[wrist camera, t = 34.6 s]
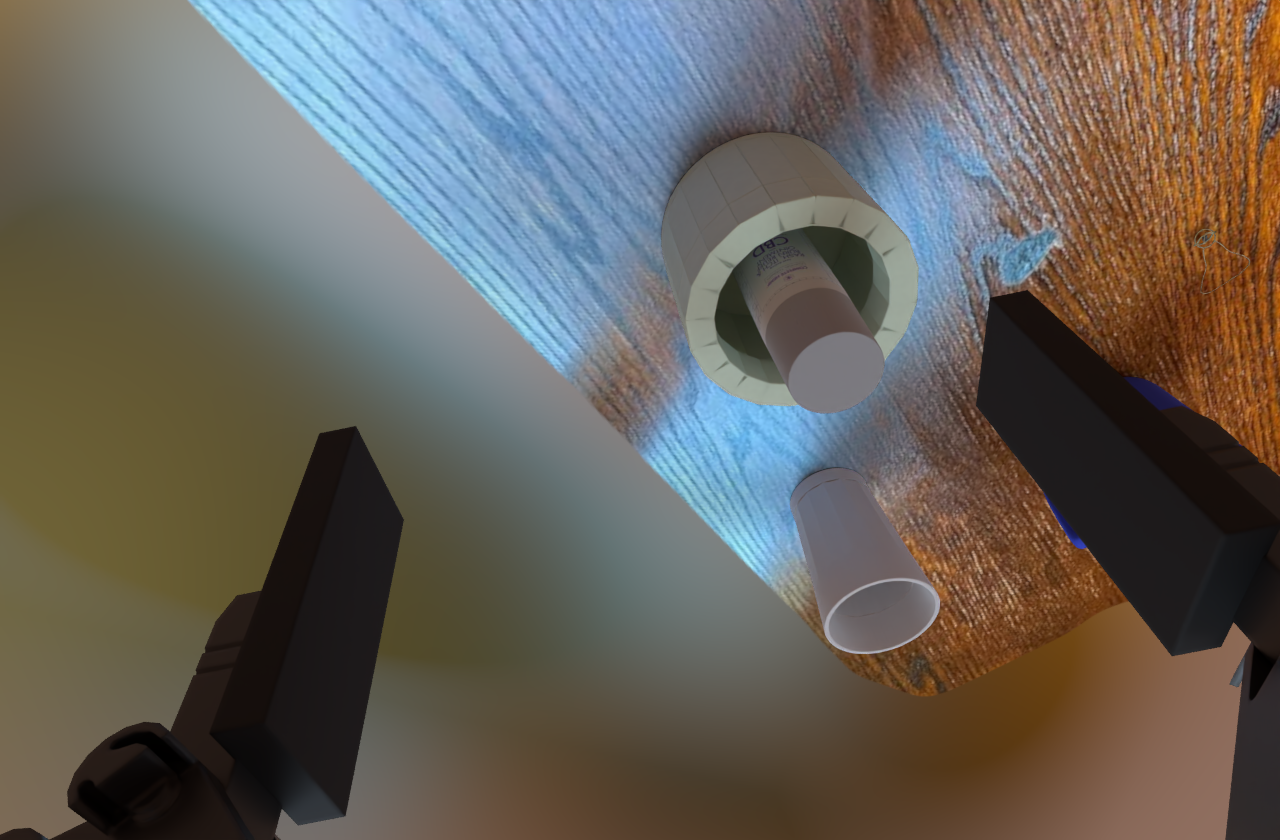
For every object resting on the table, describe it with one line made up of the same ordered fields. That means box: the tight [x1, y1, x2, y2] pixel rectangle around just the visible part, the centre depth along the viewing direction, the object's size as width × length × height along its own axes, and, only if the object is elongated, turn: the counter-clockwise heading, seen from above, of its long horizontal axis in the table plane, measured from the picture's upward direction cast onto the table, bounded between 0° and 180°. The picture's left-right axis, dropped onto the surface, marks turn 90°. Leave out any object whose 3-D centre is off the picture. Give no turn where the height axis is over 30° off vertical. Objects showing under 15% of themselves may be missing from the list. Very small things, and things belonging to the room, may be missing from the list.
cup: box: [790, 468, 940, 654], centre depth 57 cm, size 8×8×12 cm
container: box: [732, 228, 884, 413], centre depth 40 cm, size 5×5×15 cm
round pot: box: [661, 132, 918, 406], centre depth 43 cm, size 12×12×10 cm
